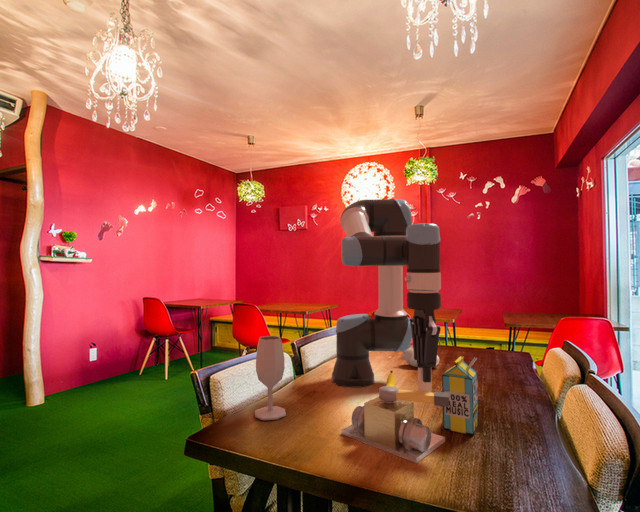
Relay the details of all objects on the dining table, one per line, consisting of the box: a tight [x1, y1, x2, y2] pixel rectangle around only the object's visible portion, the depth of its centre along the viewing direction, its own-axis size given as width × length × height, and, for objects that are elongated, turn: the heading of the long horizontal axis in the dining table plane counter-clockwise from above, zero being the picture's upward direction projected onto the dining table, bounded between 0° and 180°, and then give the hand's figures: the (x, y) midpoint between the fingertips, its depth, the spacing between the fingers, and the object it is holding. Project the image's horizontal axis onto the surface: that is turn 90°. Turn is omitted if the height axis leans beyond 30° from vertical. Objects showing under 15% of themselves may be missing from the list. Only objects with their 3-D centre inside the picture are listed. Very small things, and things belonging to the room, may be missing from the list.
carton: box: [441, 356, 479, 437], centre depth 92 cm, size 7×8×18 cm
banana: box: [385, 370, 396, 387], centre depth 112 cm, size 3×19×6 cm, turn 162°
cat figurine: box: [401, 344, 440, 368], centre depth 151 cm, size 10×8×15 cm
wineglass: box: [254, 335, 287, 421], centre depth 101 cm, size 9×9×21 cm
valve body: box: [340, 396, 446, 464], centre depth 87 cm, size 20×13×10 cm, turn 46°
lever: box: [378, 385, 449, 407], centre depth 83 cm, size 15×4×2 cm, turn 71°
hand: (425, 395), depth 84 cm, fingers closed
